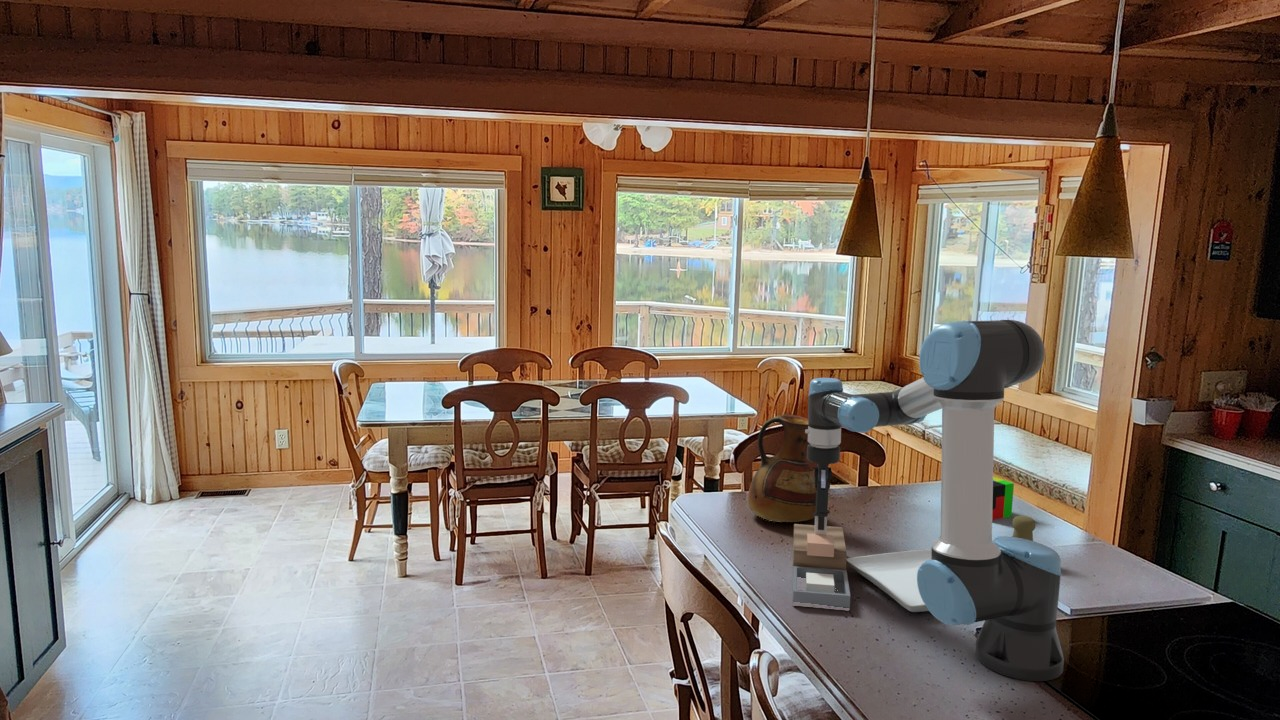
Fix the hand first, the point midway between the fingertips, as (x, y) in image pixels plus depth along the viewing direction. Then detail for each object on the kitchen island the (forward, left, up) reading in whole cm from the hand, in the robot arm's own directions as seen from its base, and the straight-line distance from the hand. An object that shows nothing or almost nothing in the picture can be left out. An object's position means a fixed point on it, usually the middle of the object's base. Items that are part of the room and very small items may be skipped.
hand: (820, 541), depth 192 cm
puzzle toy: (+54, -49, -8) cm, 73 cm away
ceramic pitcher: (+38, +9, -8) cm, 40 cm away
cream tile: (-12, 0, -4) cm, 13 cm away
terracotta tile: (-4, 0, -1) cm, 4 cm away
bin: (-12, 0, -8) cm, 15 cm away
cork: (+19, -50, -8) cm, 54 cm away
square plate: (-3, -24, -9) cm, 26 cm away
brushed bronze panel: (+5, 0, -8) cm, 9 cm away
